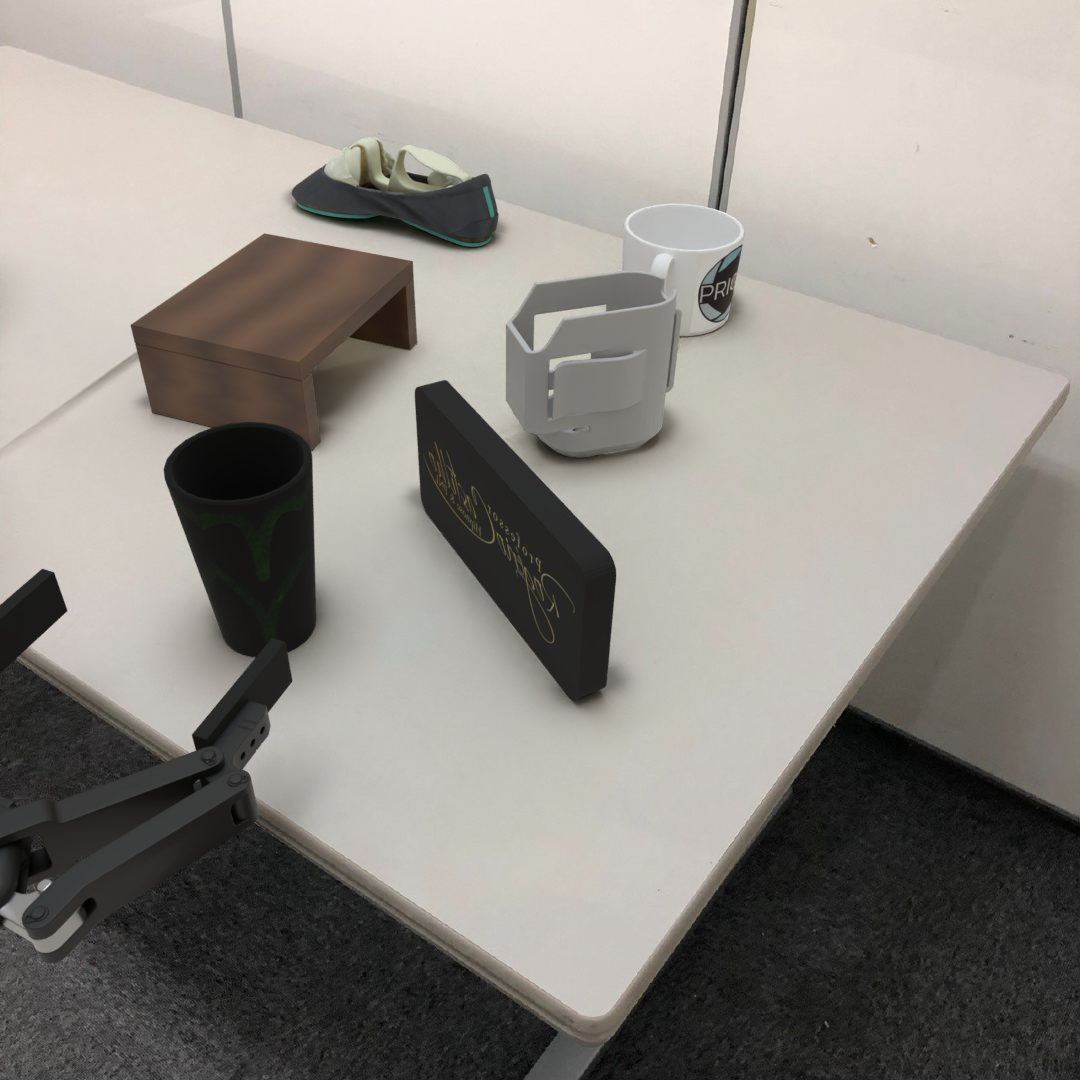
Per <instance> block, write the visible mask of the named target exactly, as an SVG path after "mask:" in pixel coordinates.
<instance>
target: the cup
mask: <svg viewBox="0 0 1080 1080" xmlns="http://www.w3.org/2000/svg"><path fill="white" fill-rule="evenodd" d="M313 466H314V465H313V452H312V451H311V449H310V446H309V444H308V443H307V442H306V441H305V440H304V438H303V437H301V436H300V435H298V434H297V433H295V432H294V431H292V430H290V429H287V428H284V427H282V426H279V425H274V424H269V423H263V422H241V423H230V424H226V425H221V426H217V427H209V428H208V429H205V430H202V431H200V432H197V433H196V434H194V435H191V436H190V437H188V438H186V439H185V440H183V441H182V442H181V443H180V444H178V445H177V446H176V447H175V448H174V449H173V450H172V451H171V453H170V454H169V455H168V456H167V458H166V461H165V464H164V467H163V477H164V482H165V484H166V487H167V489H168V492H169V495H170V497H171V500H172V503H173V505H174V508H175V511H176V514H177V516H178V519H179V522H180V524H181V528H182V531H183V533H184V536H185V538H186V540H187V543H188V546H189V549H190V552H191V555H192V557H193V560H194V563H195V566H196V568H197V571H198V573H199V577H200V579H201V582H202V584H203V587H204V590H205V592H206V595H207V598H208V600H209V603H210V606H211V608H212V611H213V614H214V617H215V619H216V622H217V625H218V627H219V628H218V629H219V630H220V634H221V635H222V638H223V640H224V642H225V643H226V645H227V646H228V647H229V648H230V649H231V650H233V651H235V652H237V653H239V654H241V655H244V656H248V657H252V658H256V657H257V655H258V654H259V653H260V652H261V651H262V649H263V648H264V647H265V646H266V645H267V643H268V642H269V641H270V640H271V639H272V638H274V639H277V640H280V641H284V642H286V647H287V653H289V652H291V651H293V650H296V649H298V648H299V647H301V645H303V644H304V643H305V642H306V641H307V640H308V639H309V638H310V637H311V635H312V634H313V632H314V630H315V629H316V624H317V596H316V595H317V594H316V593H317V592H316V591H317V590H316V588H317V587H316V552H315V551H316V549H315V548H316V547H315V510H314V509H315V508H314V506H315V505H314V471H313V470H314V469H313Z"/></svg>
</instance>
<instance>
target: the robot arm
mask: <svg viewBox="0 0 1080 1080" xmlns="http://www.w3.org/2000/svg"><path fill="white" fill-rule="evenodd" d="M68 610H69V609H68V608H67V605H66V602H65V600H64V596H63V593H62V590H61V587H60V584H59V582H58V579H57V577H56V574H55V572H54V571H52V570H48V569H44V568H41V569H40V570H39V571H38V572H36V573H35V574H34V575H32V576H31V577H30V579H28V580H27V581H26V582H25V583H24V584H22V585H21V586H20V587H19V588H18V589H16V591H15V592H13V593H12V594H11V595H10V596H9V597H7V598H6V599H5V600H4V601H3V602H2V603H0V674H2V672H4V671H5V670H6V669H7V668H8V667H10V665H11V664H12V663H14V661H15V660H17V659H18V658H19V657H20V656H21V655H22V654H23V653H24V652H25V651H27V649H29V648H30V647H31V646H32V645H33V644H34V643H35V642H36V641H37V640H38V639H39V638H40V637H42V636H43V635H44V634H45V633H46V632H47V631H48V630H49V629H50V628H52V626H54V624H56V623H57V622H58V621H59V620H60V619H61V618H62V616H64V615H66V613H67V612H68ZM292 683H293V675H292V671H291V665H290V658H289V652H287V647H286V642H284V641H280V640H277V639H274V638H272V639H271V640H270V641H269V642H268V643H267V645H266V646H265V647H264V648H263V649H262V651H261V652H260V653H259V654H258V655H257V657H254V659H253V660H252V661H251V662H250V664H249V665H248V666H247V667H246V668H245V669H244V671H243V672H242V674H240V676H239V677H238V678H237V679H236V681H235V682H234V683H233V684H232V686H231V687H230V688H229V689H228V690H227V691H226V692H225V694H224V695H223V696H222V698H220V700H219V701H218V702H217V703H216V704H215V706H214V707H213V708H212V709H211V711H210V712H209V713H208V714H207V716H206V717H204V719H203V720H202V722H201V723H200V724H199V725H198V726H197V727H196V729H195V730H194V731H193V732H192V734H191V738H192V741H193V745H194V749H195V750H194V751H191V752H188V753H186V754H183V755H180V756H177V757H175V758H172V759H169V760H167V761H164V762H161V763H158V764H156V765H153V766H150V767H147V768H145V769H143V770H139V771H137V772H134V773H131V774H129V775H126V776H123V777H121V778H118V779H115V780H113V781H109V782H107V783H104V784H101V785H99V786H96V787H93V788H91V789H88V790H85V791H83V792H79V793H77V794H74V795H71V796H68V797H66V798H63V799H60V800H57V801H53V800H51V799H48V798H40V799H36V800H33V801H31V802H28V803H26V804H22V805H20V806H17V804H16V802H15V800H12V799H9V798H7V797H4V796H1V795H0V931H2V930H4V929H5V928H7V929H8V930H10V931H12V932H14V933H15V934H17V935H19V936H20V937H22V938H24V939H25V940H27V941H28V942H30V943H32V945H33V946H34V949H35V951H36V953H37V955H38V957H39V958H40V960H41V961H42V962H44V963H46V964H57V963H59V962H61V961H63V960H64V959H66V958H67V957H68V956H69V955H70V954H71V952H73V950H74V949H75V948H76V947H77V946H78V945H79V944H80V943H81V942H83V940H84V939H85V937H87V936H88V934H89V933H90V932H91V931H92V930H93V929H94V928H95V927H96V926H97V925H98V923H100V921H102V920H104V919H105V918H107V917H109V916H110V915H112V914H113V913H115V912H116V911H118V910H120V909H121V908H123V907H124V906H126V905H128V904H129V903H131V902H132V901H134V900H135V899H137V898H138V897H140V896H142V895H143V894H145V893H146V892H148V891H149V890H151V889H153V888H154V887H156V886H157V885H159V884H161V883H163V881H165V880H166V879H168V878H170V877H172V876H174V875H175V874H177V873H178V872H179V871H181V870H182V869H185V867H188V866H189V865H190V864H192V863H193V862H195V861H196V860H198V859H200V858H202V857H204V856H205V855H206V854H208V853H209V852H211V851H212V850H214V849H216V848H217V847H219V846H220V845H222V844H224V843H225V842H227V841H228V840H229V839H231V838H233V837H234V836H236V835H238V834H239V833H241V832H242V831H244V830H246V829H247V828H249V827H250V826H252V825H253V824H254V823H256V821H257V820H258V819H259V816H260V811H259V807H258V803H257V798H256V794H255V789H254V786H253V785H254V784H253V782H252V781H253V780H252V777H251V774H250V773H249V772H248V771H246V770H245V769H244V768H245V767H246V766H247V764H248V763H249V762H250V760H251V759H252V758H253V756H254V755H255V754H256V752H257V750H259V749H260V747H261V746H262V744H263V743H264V742H265V741H266V739H267V738H268V737H269V735H270V730H271V727H272V726H271V720H270V716H269V713H270V711H272V709H273V707H274V706H275V705H276V704H277V703H278V701H279V699H280V698H281V697H282V696H283V695H284V693H285V692H286V690H287V689H288V688H289V687H290V686H291V684H292ZM34 835H35V836H39V838H40V839H41V841H42V844H43V847H41V848H39V849H36V850H34V851H32V846H33V837H32V836H34ZM85 856H86V857H85ZM82 857H84V858H82ZM80 858H82V859H81V860H79V859H80ZM77 860H79V861H78V862H76V861H77ZM75 862H76V863H75ZM57 875H59V876H58V877H57V878H56V879H55V880H54V881H53V880H52V879H50V878H52V877H55V876H57ZM34 884H36V887H35V888H36V890H34V891H32V892H29V893H28V892H27V889H28V887H29V886H31V885H34Z"/></svg>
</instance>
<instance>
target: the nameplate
mask: <svg viewBox="0 0 1080 1080" xmlns="http://www.w3.org/2000/svg"><path fill="white" fill-rule="evenodd" d="M414 409H415V424H416V425H415V426H416V437H417V438H416V443H417V444H416V445H417V461H418V476H419V477H418V478H419V493H420V500H421V504H422V507H423V510H424V511H425V513H426V515H427V516H428V518H429V519H430V520H431V522H432V523H433V524H434V526H435V527H436V528H437V529H438V531H439V532H440V533H441V534H442V536H443V537H444V539H445V540H446V541H447V542H448V544H449V545H450V546H451V547H452V549H453V550H454V551H455V553H456V555H458V557H459V558H460V559H461V560H462V562H463V563H464V564H465V566H466V567H467V568H468V569H469V570H470V572H471V573H472V574H473V576H474V577H475V578H476V580H477V581H478V582H479V584H480V585H481V586H482V587H483V589H484V590H485V591H486V593H487V594H488V595H489V596H490V598H491V599H492V601H494V603H495V604H496V605H497V607H498V608H499V609H500V610H501V611H502V613H503V614H504V616H505V617H506V618H507V620H508V621H509V622H510V624H511V625H512V626H513V627H514V629H515V630H516V631H517V633H518V634H519V636H520V637H521V638H522V639H523V641H525V643H526V644H527V645H528V647H529V648H530V649H531V650H532V651H533V653H534V654H535V656H536V657H537V658H538V660H539V661H540V662H541V664H543V666H544V667H545V668H546V670H547V671H548V672H549V674H550V675H551V676H552V677H553V679H554V680H555V681H556V683H557V684H558V685H559V686H560V688H561V690H562V691H563V692H564V693H565V695H566V696H567V697H568V698H569V699H570V700H573V701H576V700H578V699H581V698H583V697H585V696H587V695H590V694H593V693H595V692H598V691H600V690H603V689H604V688H606V686H607V683H608V674H609V661H610V653H611V652H610V651H611V642H612V641H611V640H612V627H613V619H614V608H615V607H614V605H615V597H616V585H617V568H616V564H615V561H614V558H613V556H612V555H611V553H610V550H608V549H607V548H606V546H605V545H604V544H603V543H602V542H601V541H600V540H599V539H598V538H597V537H596V536H595V535H594V534H593V532H592V531H590V530H589V528H587V527H586V525H584V523H583V522H582V521H581V520H580V519H579V518H578V517H577V516H576V515H575V514H574V512H572V510H570V509H569V508H568V507H567V506H566V504H565V503H564V502H563V501H562V500H561V499H560V498H559V497H558V496H557V494H556V493H555V492H553V490H552V489H551V488H550V487H549V486H547V484H546V483H545V482H544V481H543V480H542V479H541V478H540V477H539V476H538V475H537V473H535V471H534V470H533V469H532V468H531V467H530V466H528V464H527V463H526V462H525V461H524V459H522V458H521V457H520V456H519V454H517V453H516V452H515V450H513V448H512V447H511V446H510V445H509V444H508V443H507V442H506V441H505V439H503V437H501V436H500V435H499V434H498V433H497V432H496V430H494V428H493V427H492V426H491V425H490V424H489V423H488V422H487V421H486V420H485V419H484V417H482V415H480V413H478V412H477V410H476V409H475V408H474V407H473V406H472V405H471V404H470V403H469V402H468V401H467V400H466V398H464V396H463V395H462V394H460V392H459V391H458V390H457V389H456V388H455V387H454V386H453V385H452V384H451V383H450V382H449V381H448V380H447V379H442V380H439V381H435V382H431V383H427V384H423V385H419V386H416V387H415V389H414Z"/></svg>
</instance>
